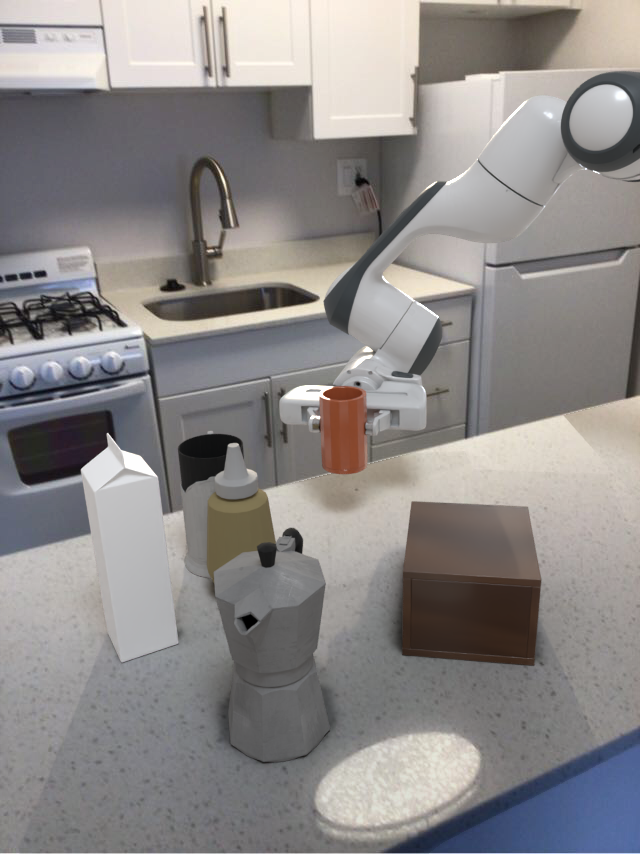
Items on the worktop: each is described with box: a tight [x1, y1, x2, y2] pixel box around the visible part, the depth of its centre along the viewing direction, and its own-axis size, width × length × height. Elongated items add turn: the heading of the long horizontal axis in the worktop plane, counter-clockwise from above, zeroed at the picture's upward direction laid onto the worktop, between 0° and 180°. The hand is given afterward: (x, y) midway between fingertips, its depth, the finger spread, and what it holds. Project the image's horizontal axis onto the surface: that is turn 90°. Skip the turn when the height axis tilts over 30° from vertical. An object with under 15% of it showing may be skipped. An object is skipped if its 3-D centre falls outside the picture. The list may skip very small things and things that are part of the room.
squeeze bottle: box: [207, 443, 277, 584], centre depth 83 cm, size 8×8×18 cm
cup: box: [319, 386, 369, 475], centre depth 98 cm, size 6×6×10 cm
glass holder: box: [177, 430, 245, 579], centre depth 92 cm, size 9×14×15 cm, turn 9°
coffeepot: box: [213, 527, 331, 763], centre depth 64 cm, size 15×9×18 cm, turn 167°
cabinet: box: [401, 500, 542, 667], centre depth 78 cm, size 15×13×10 cm
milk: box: [80, 432, 179, 663], centre depth 74 cm, size 6×6×22 cm
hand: (342, 428), depth 97 cm, fingers closed on cup, 6 cm apart
